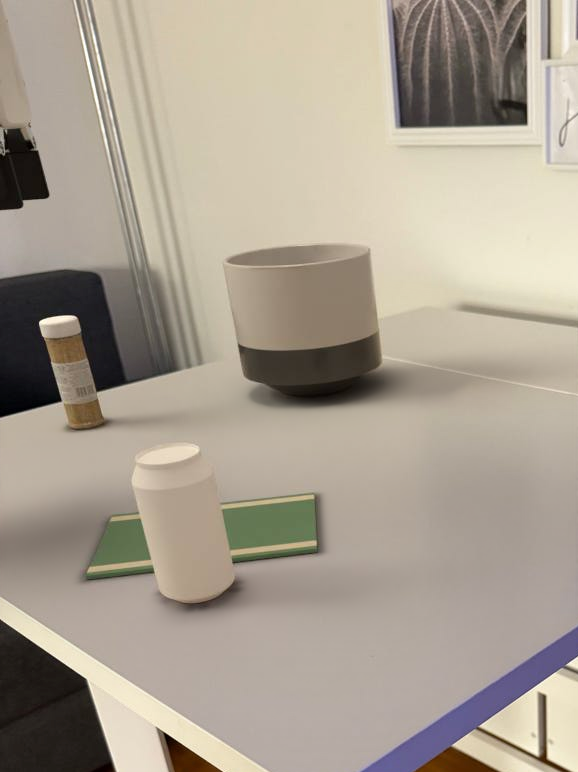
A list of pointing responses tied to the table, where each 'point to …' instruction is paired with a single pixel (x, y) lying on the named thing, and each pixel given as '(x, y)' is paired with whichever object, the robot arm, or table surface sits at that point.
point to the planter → (305, 316)
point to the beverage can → (183, 522)
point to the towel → (243, 527)
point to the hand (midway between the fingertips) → (18, 204)
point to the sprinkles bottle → (72, 371)
